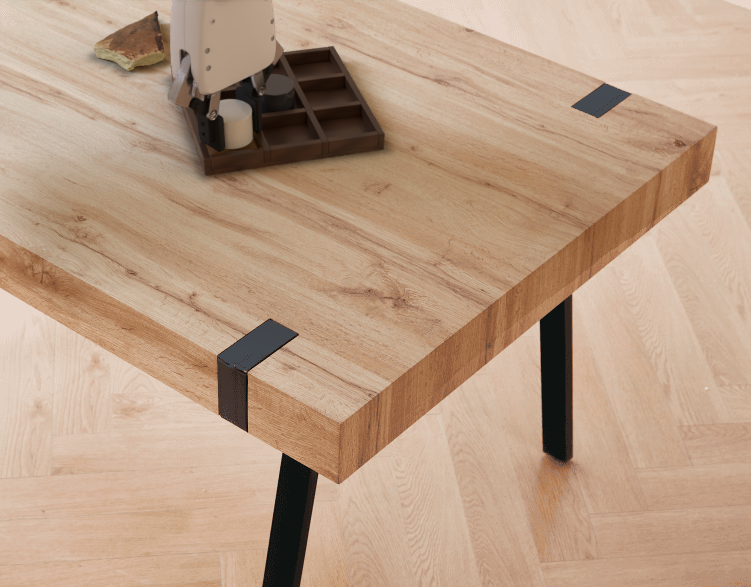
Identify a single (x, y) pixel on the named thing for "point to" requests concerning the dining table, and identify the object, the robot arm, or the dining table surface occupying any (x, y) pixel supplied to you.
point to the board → (300, 118)
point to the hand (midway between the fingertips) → (231, 134)
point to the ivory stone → (236, 123)
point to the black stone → (278, 94)
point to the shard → (134, 44)
